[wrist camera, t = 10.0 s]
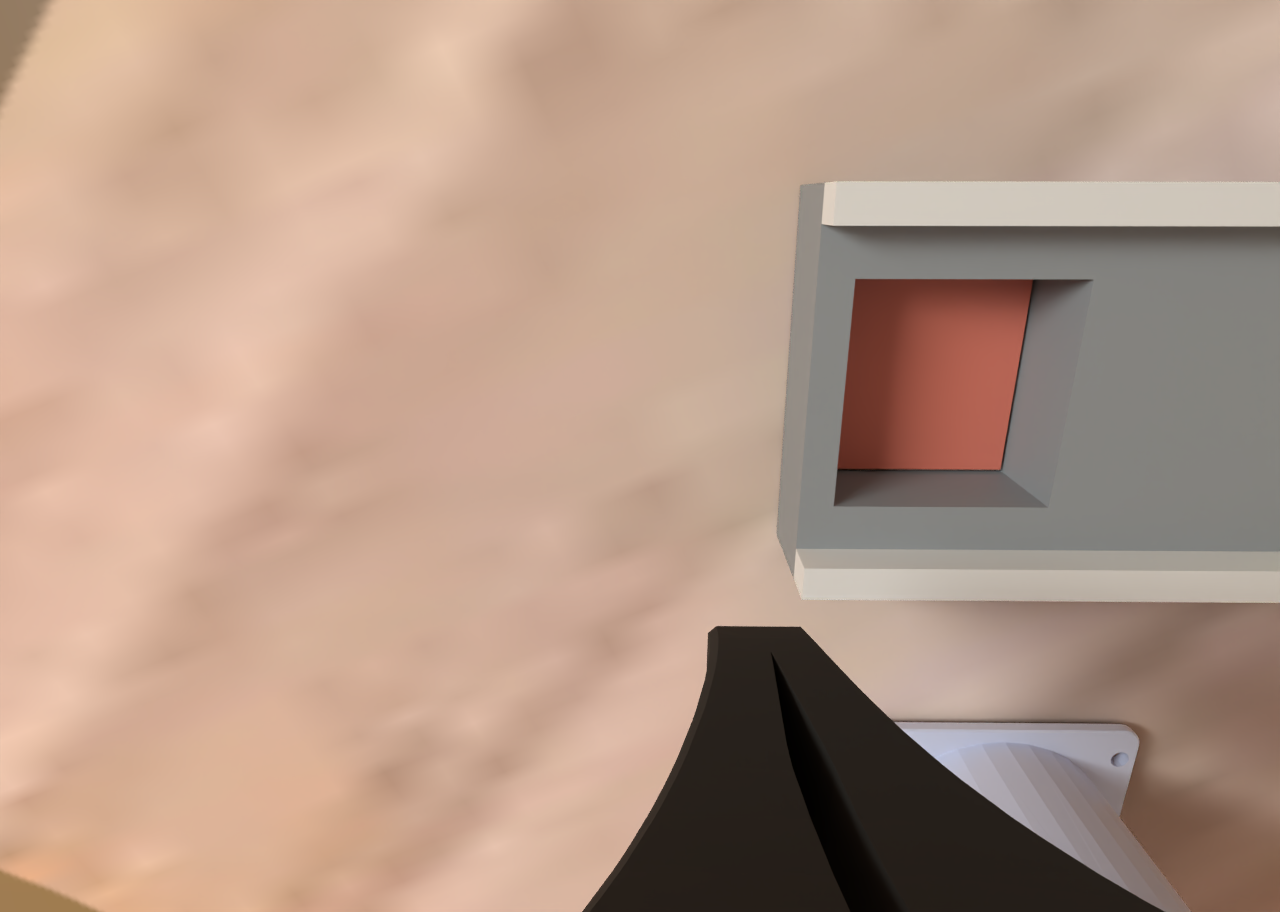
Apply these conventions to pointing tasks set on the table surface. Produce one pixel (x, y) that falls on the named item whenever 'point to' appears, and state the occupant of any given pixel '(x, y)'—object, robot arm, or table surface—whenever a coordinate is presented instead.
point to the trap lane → (1034, 392)
